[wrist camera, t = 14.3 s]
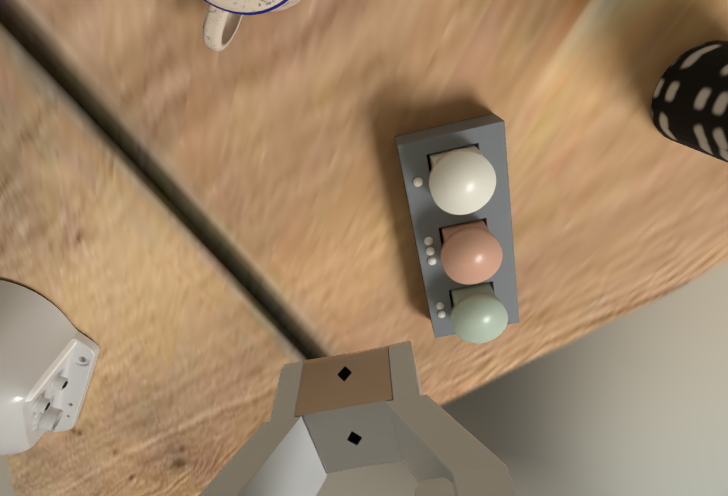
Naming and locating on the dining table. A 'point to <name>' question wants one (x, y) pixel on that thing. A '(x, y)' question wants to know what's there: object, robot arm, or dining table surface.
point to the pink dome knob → (470, 252)
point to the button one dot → (461, 179)
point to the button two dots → (477, 313)
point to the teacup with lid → (234, 18)
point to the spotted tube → (696, 100)
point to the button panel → (431, 217)
